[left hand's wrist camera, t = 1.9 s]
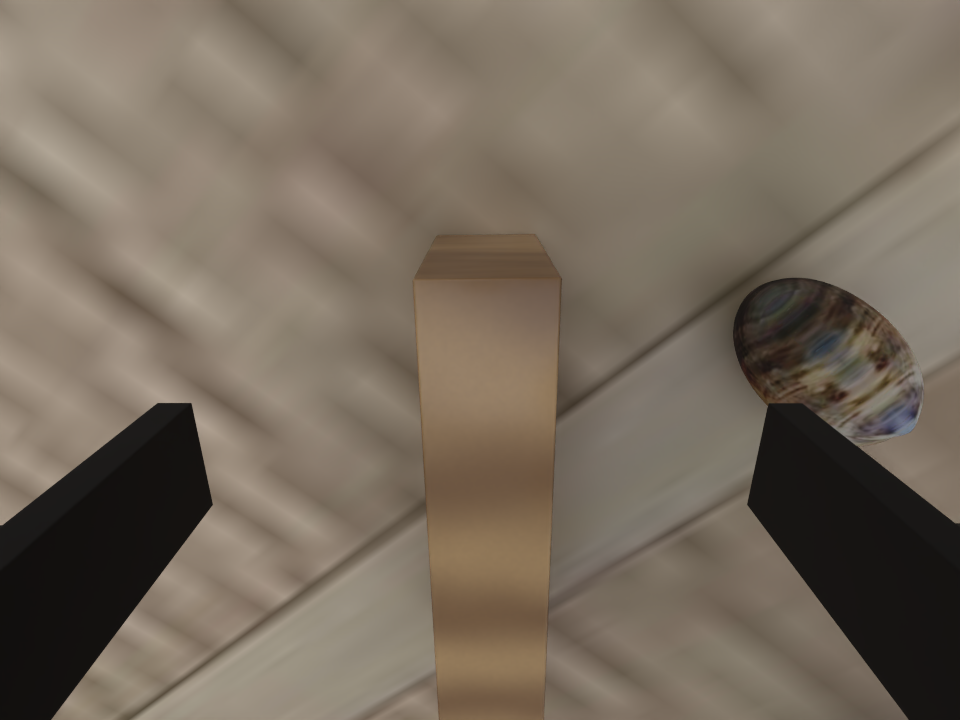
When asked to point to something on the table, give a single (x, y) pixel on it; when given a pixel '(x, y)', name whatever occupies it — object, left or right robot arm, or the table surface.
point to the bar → (488, 466)
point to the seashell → (829, 358)
